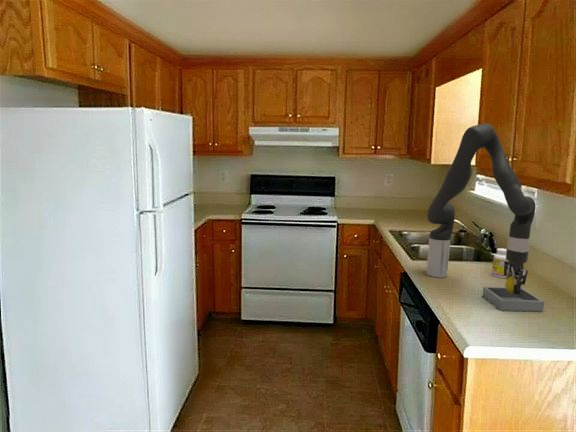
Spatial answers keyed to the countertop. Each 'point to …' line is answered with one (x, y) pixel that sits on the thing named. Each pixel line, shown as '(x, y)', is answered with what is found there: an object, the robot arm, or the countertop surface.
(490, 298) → the box
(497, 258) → the supplement bottle
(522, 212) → the robot arm
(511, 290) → the lemon
